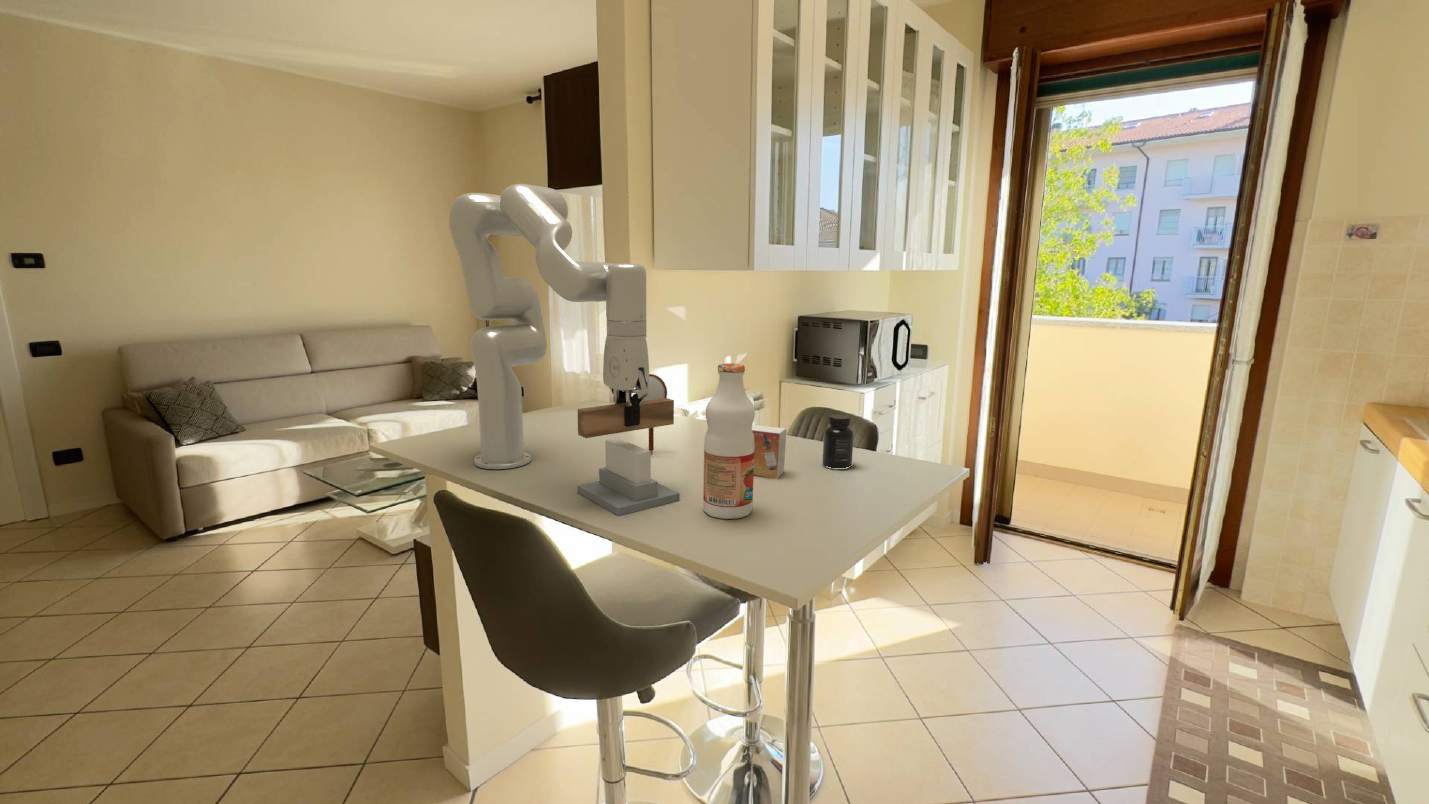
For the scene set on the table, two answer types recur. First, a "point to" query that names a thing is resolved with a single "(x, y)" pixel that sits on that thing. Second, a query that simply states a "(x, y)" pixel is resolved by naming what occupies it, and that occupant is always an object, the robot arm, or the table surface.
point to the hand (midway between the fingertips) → (627, 423)
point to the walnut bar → (612, 417)
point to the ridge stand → (627, 481)
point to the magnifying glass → (654, 392)
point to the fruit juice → (729, 447)
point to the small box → (769, 451)
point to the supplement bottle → (838, 442)
